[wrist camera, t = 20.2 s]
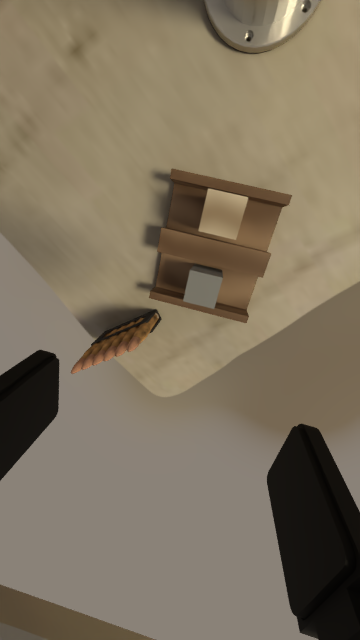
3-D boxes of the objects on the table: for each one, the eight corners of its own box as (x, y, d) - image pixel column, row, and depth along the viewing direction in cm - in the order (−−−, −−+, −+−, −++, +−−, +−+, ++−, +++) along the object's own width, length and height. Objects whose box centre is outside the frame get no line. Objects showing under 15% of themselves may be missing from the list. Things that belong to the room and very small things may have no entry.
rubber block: (194, 263, 34) (190, 269, 28) (222, 269, 33) (222, 277, 28) (188, 289, 35) (183, 301, 30) (215, 296, 35) (214, 308, 29)
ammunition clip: (109, 340, 42) (70, 381, 31) (104, 331, 41) (62, 369, 30) (161, 319, 39) (138, 355, 28) (156, 309, 38) (131, 341, 27)
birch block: (210, 198, 30) (208, 188, 23) (241, 205, 30) (248, 197, 23) (203, 230, 32) (198, 231, 25) (232, 237, 32) (236, 239, 24)
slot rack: (177, 175, 31) (171, 168, 27) (283, 199, 30) (292, 195, 26) (156, 291, 37) (149, 297, 33) (243, 313, 36) (246, 323, 32)
